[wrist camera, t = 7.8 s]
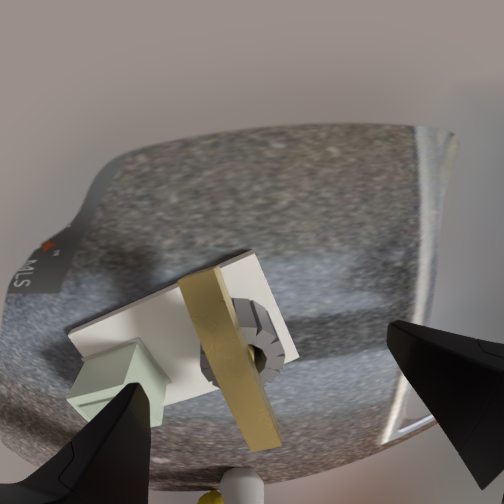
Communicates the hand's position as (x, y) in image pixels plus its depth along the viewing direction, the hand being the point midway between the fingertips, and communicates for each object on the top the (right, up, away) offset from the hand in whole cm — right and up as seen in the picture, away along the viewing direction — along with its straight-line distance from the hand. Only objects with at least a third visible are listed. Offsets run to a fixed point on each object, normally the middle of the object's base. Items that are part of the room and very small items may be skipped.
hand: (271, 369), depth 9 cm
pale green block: (-11, -6, +12) cm, 17 cm away
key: (-1, -3, +12) cm, 12 cm away
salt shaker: (-2, -26, +20) cm, 33 cm away
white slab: (-6, -4, +13) cm, 15 cm away
